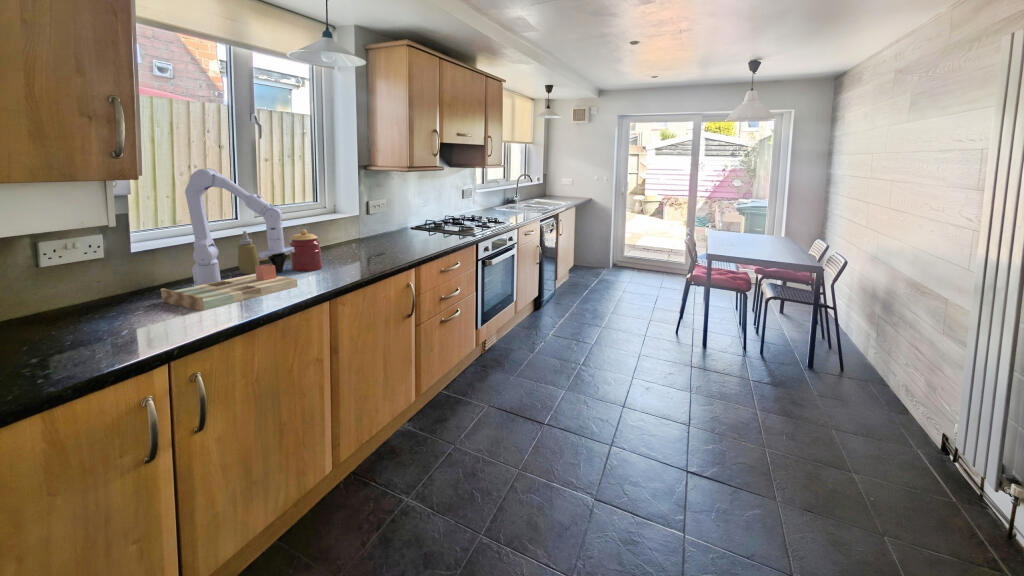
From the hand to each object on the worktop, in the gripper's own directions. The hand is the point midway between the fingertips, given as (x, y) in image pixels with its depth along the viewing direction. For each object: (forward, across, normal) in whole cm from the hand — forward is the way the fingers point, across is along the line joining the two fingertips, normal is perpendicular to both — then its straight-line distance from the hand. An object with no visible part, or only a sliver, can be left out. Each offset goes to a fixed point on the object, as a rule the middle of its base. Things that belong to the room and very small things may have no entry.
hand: (279, 272), depth 196 cm
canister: (+4, +23, +12) cm, 26 cm away
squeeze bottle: (+4, +5, +26) cm, 27 cm away
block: (+1, -6, 0) cm, 6 cm away
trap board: (+4, -19, 0) cm, 19 cm away
